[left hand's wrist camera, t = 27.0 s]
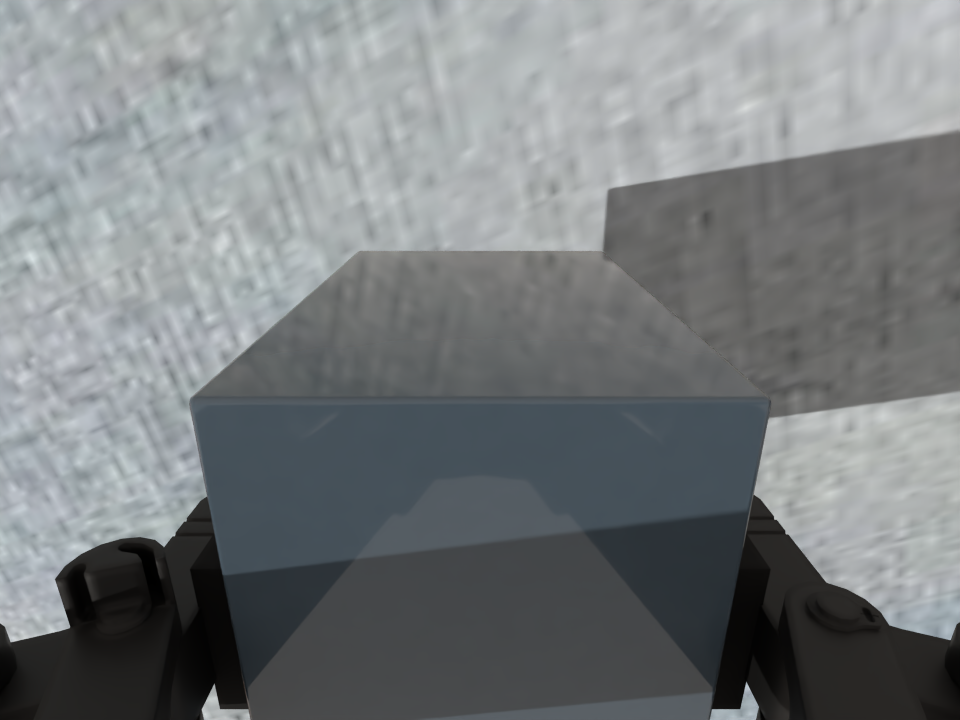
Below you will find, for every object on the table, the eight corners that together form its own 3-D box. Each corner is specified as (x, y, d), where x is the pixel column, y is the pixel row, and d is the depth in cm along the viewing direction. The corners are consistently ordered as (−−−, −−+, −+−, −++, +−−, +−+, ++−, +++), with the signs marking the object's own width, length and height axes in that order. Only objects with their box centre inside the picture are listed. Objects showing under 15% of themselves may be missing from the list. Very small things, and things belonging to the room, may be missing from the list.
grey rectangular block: (378, 526, 19) (281, 888, 10) (357, 250, 16) (185, 398, 6) (582, 526, 19) (678, 888, 10) (603, 250, 16) (776, 399, 6)
